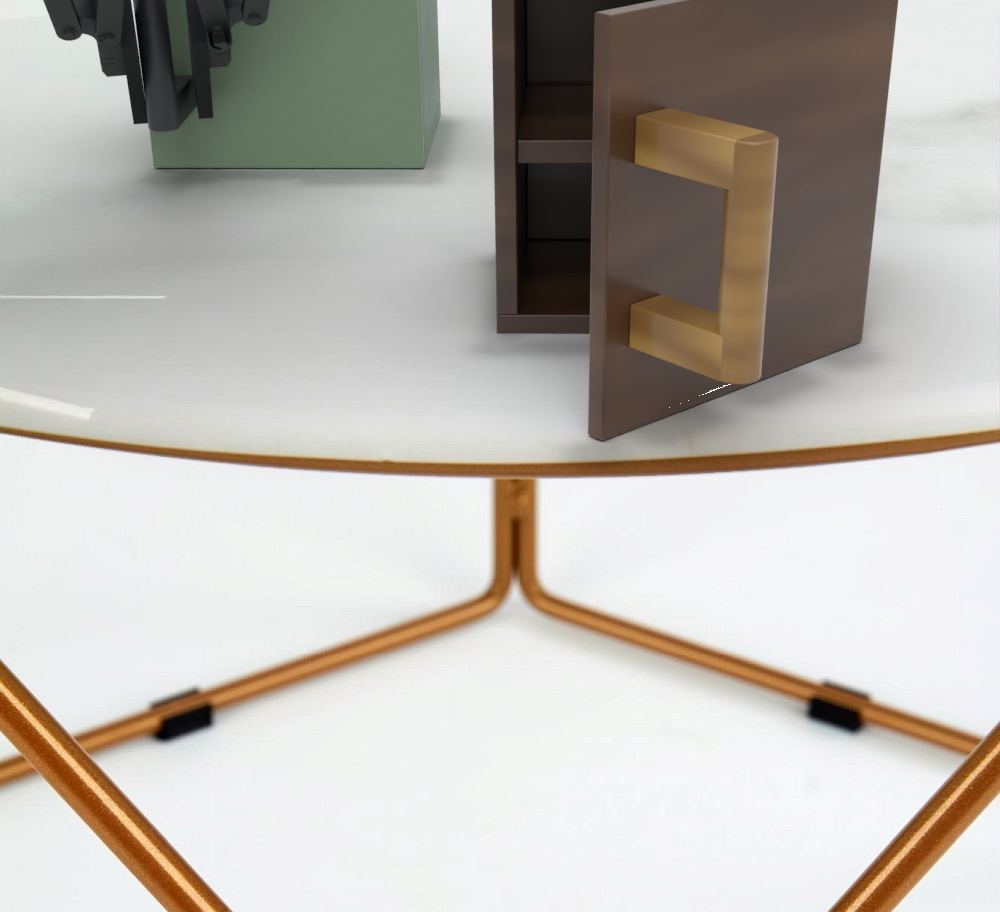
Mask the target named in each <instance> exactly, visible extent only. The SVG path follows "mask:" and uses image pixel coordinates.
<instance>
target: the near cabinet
mask: <svg viewBox="0 0 1000 912" xmlns="http://www.w3.org/2000/svg"><path fill="white" fill-rule="evenodd" d="M650 1H655V0H491V44H492V45H491V53H492V54H491V55H492V61H491V62H492V116H493V117H492V119H493V122H492V123H493V176H494V177H493V180H494V182H493V183H494V184H493V185H494V187H493V189H494V190H493V191H494V244H495V246H494V247H495V248H494V249H495V250H494V251H495V304H496V305H495V308H496V309H495V311H496V317H495V319H496V334H499V335H500V334H501V335H503V334H505V335H507V334H512V335H513V334H514V335H515V334H516V335H517V334H518V335H522V334H524V335H525V334H526V335H528V334H529V335H531V334H532V335H548V334H549V335H562V334H563V335H590V279H591V215H592V151H593V86H594V22H595V13H596V12H599V11H604V10H609V9H614V8H619V7H625V6H630V5H635V4H640V3H645V2H650Z"/></svg>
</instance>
